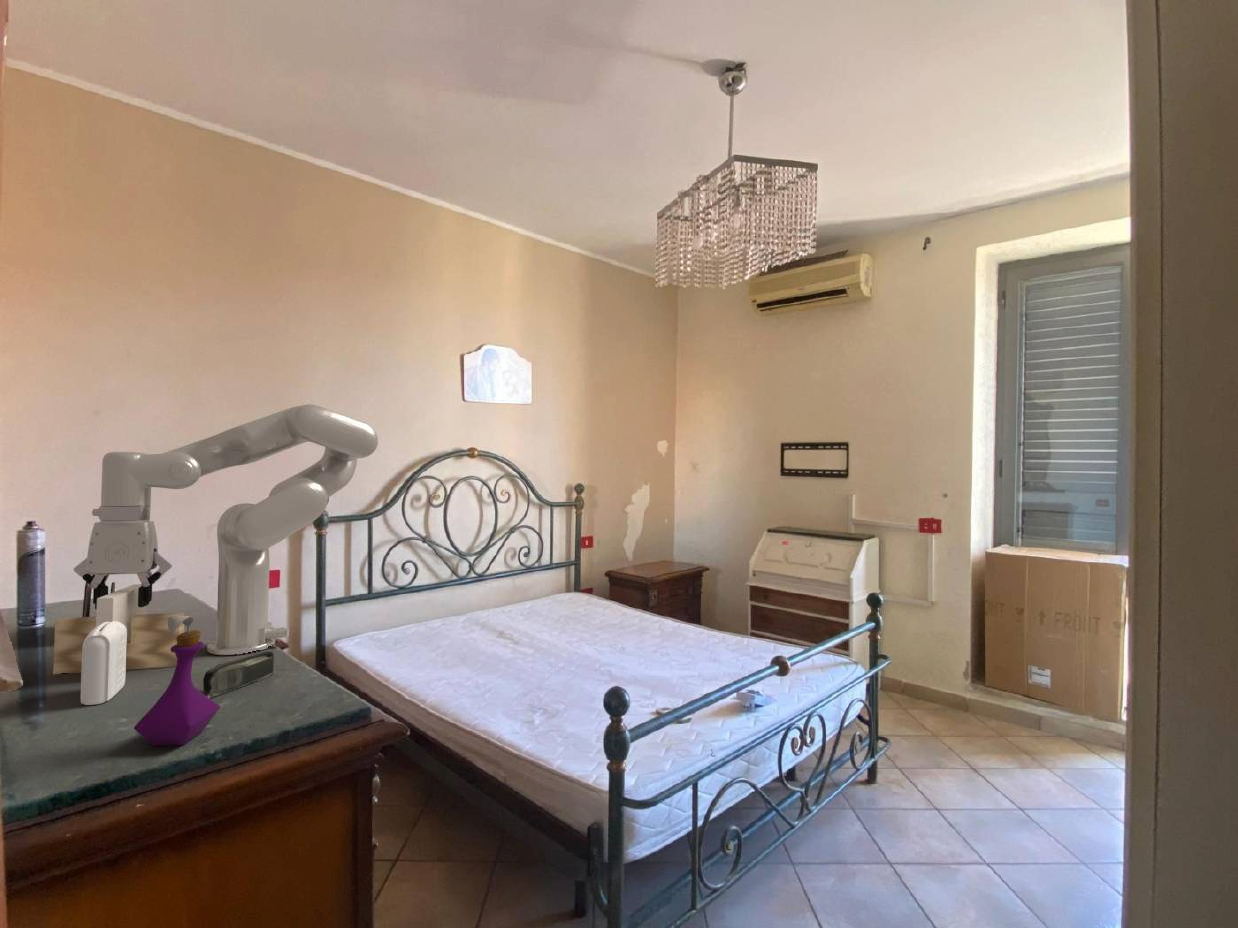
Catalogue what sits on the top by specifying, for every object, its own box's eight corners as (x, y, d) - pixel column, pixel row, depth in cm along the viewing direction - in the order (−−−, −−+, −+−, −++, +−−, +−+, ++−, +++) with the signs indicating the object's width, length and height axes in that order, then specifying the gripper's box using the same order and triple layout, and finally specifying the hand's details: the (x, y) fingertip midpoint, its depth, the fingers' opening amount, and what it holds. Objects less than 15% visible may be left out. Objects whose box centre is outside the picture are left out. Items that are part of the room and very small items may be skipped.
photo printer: (98, 687, 106) (100, 617, 106) (128, 683, 107) (130, 615, 108) (75, 707, 96) (78, 631, 97) (109, 704, 98) (112, 629, 98)
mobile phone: (265, 648, 115) (193, 671, 100) (278, 649, 114) (208, 672, 100) (263, 674, 115) (192, 701, 100) (276, 676, 114) (206, 702, 99)
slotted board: (183, 662, 120) (184, 612, 120) (178, 666, 117) (179, 615, 117) (61, 670, 114) (63, 617, 114) (53, 674, 111) (55, 621, 112)
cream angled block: (110, 679, 109) (113, 597, 110) (94, 680, 109) (97, 598, 109) (145, 656, 123) (147, 584, 123) (131, 657, 122) (133, 584, 122)
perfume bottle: (168, 728, 89) (172, 608, 90) (220, 727, 90) (224, 608, 90) (131, 751, 82) (136, 621, 82) (188, 750, 83) (193, 621, 83)
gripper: (59, 516, 110) (56, 613, 110) (169, 516, 115) (166, 608, 115) (82, 513, 117) (79, 604, 117) (185, 513, 122) (182, 600, 122)
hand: (122, 605), depth 116 cm, fingers open, 6 cm apart
